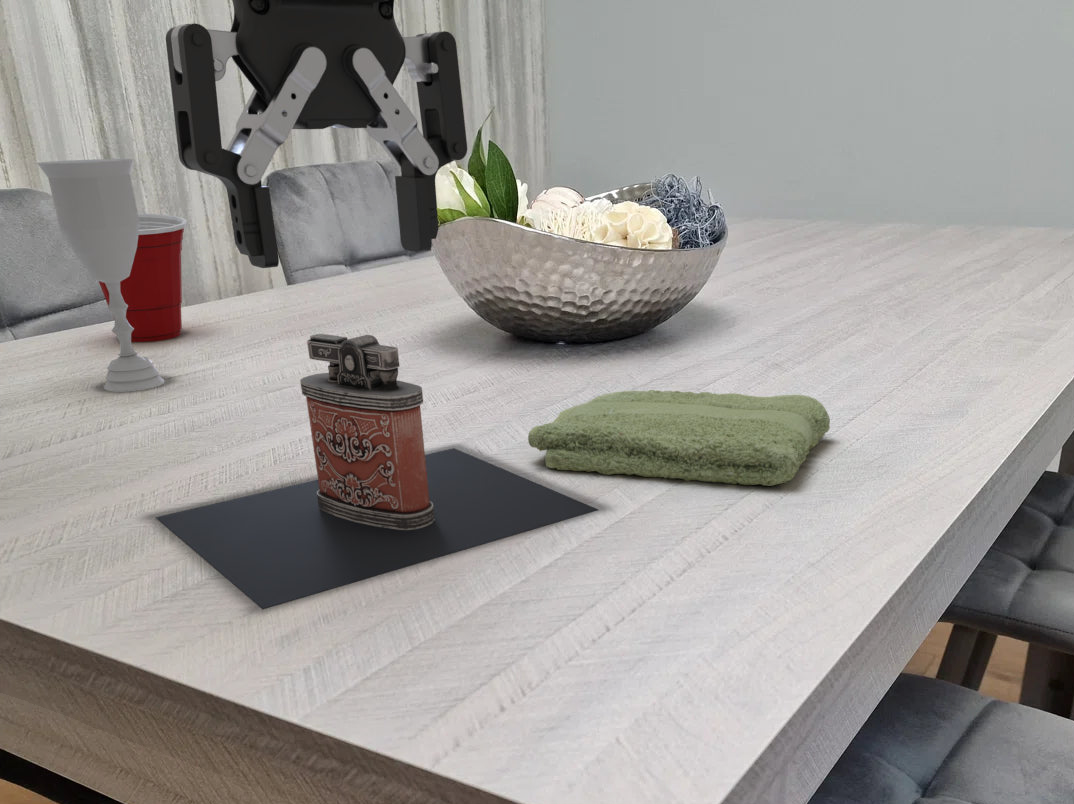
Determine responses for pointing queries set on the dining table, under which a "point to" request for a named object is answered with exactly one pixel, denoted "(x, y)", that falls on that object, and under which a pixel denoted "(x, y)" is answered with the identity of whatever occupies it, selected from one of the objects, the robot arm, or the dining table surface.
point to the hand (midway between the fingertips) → (343, 258)
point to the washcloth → (686, 436)
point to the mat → (361, 529)
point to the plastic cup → (154, 280)
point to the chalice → (104, 246)
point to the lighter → (367, 435)
